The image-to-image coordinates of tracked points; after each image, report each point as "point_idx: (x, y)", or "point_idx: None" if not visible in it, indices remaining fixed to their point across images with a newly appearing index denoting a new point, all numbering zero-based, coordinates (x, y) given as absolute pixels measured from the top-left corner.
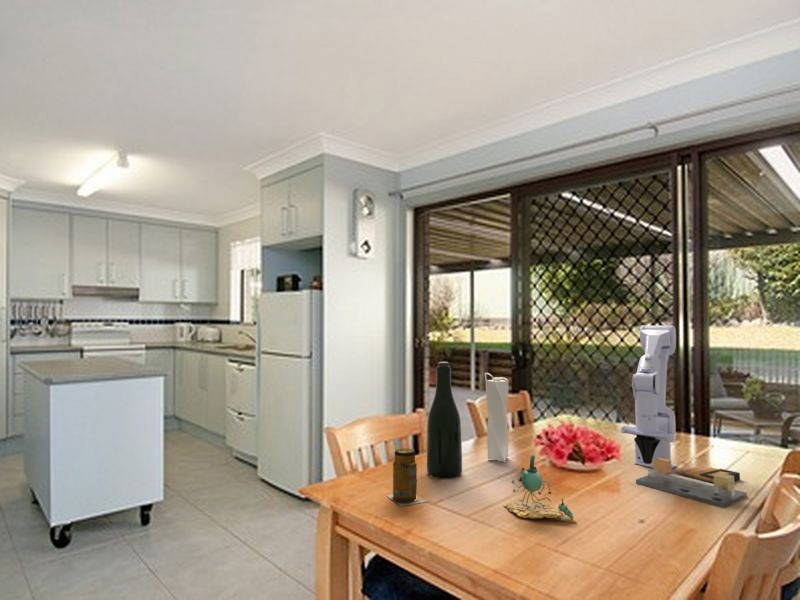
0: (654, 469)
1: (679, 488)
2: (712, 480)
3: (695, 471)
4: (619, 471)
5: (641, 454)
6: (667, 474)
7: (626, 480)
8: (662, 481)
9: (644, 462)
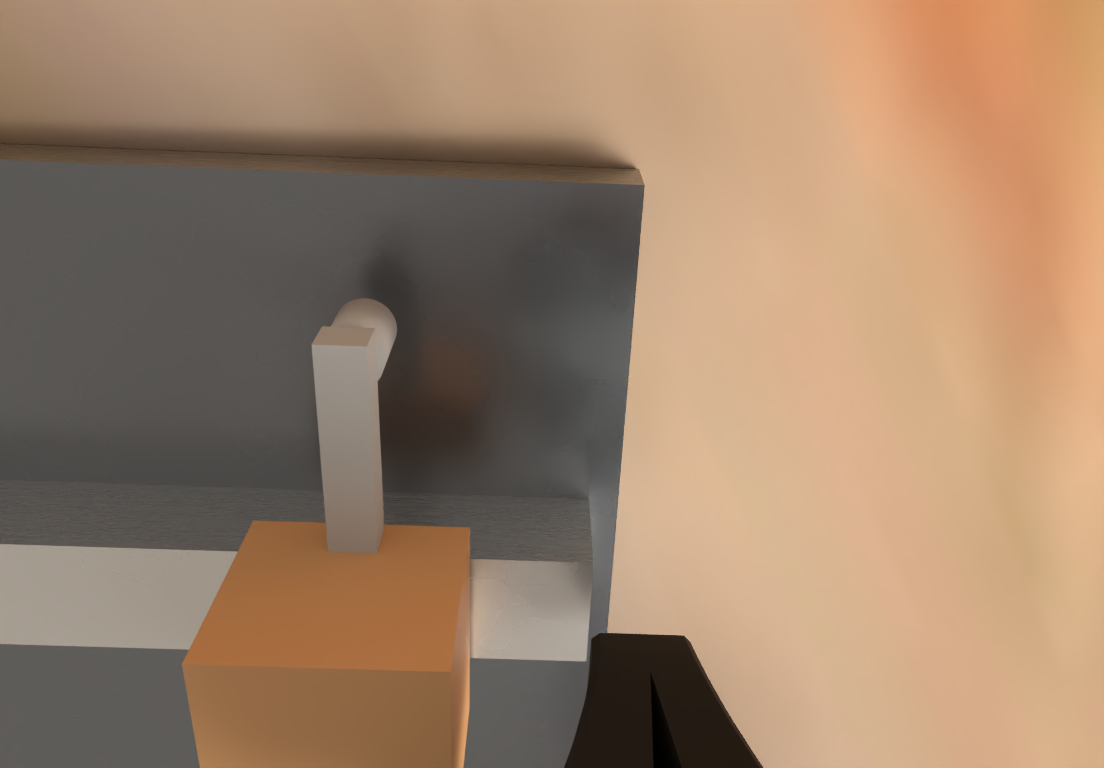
0: (441, 547)
1: None
2: None
3: None
4: (1072, 519)
5: (742, 746)
6: None
7: (817, 186)
8: (315, 428)
9: (668, 643)
